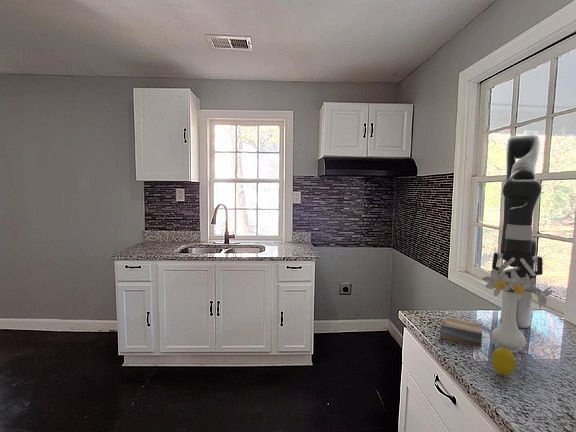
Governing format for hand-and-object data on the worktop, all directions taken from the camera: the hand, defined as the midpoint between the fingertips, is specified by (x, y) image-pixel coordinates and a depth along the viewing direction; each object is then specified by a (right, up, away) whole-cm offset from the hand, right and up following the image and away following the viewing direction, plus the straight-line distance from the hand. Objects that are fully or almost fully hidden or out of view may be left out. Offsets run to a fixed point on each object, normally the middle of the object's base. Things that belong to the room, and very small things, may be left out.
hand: (515, 284), depth 114 cm
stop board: (-17, -18, +4) cm, 25 cm away
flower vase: (-7, -19, -8) cm, 22 cm away
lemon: (-20, -20, -23) cm, 37 cm away
